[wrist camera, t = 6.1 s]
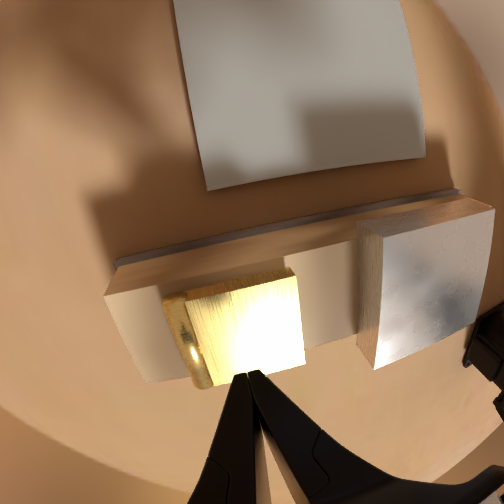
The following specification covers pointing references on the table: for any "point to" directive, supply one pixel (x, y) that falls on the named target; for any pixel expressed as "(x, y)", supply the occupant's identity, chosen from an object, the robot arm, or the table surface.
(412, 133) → the mat
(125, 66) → the table surface
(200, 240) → the body
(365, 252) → the cap plate
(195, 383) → the gold flat block
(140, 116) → the table surface
